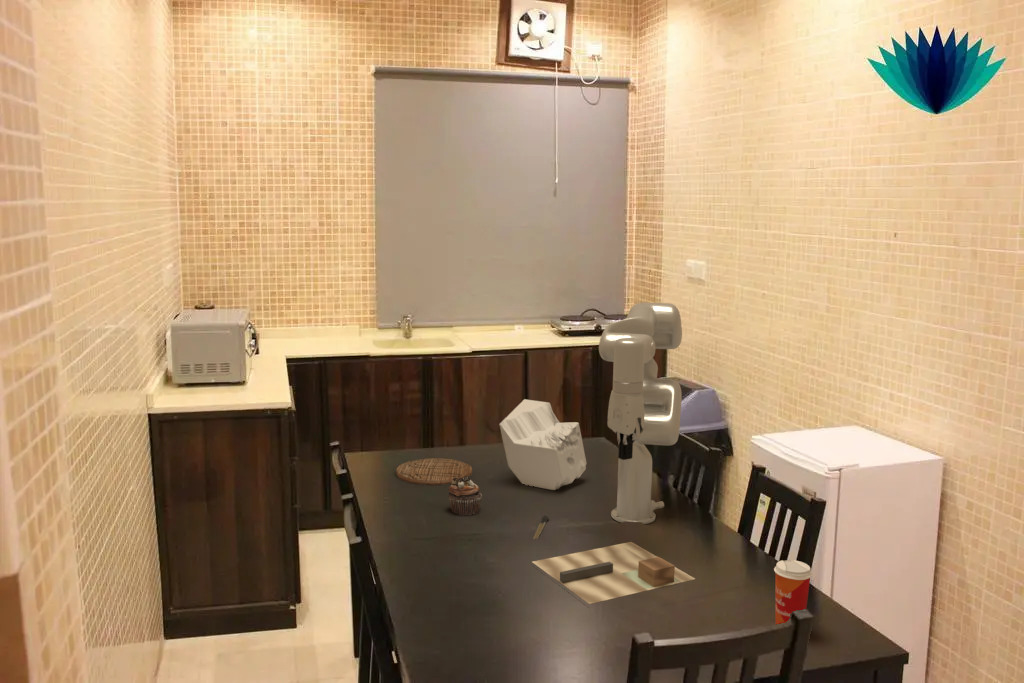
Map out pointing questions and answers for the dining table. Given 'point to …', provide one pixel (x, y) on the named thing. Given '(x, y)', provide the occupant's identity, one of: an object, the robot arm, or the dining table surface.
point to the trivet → (433, 471)
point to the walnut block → (656, 571)
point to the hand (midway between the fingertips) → (625, 458)
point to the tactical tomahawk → (541, 526)
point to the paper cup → (790, 588)
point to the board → (609, 583)
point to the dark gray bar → (586, 572)
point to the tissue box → (542, 446)
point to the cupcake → (464, 496)
